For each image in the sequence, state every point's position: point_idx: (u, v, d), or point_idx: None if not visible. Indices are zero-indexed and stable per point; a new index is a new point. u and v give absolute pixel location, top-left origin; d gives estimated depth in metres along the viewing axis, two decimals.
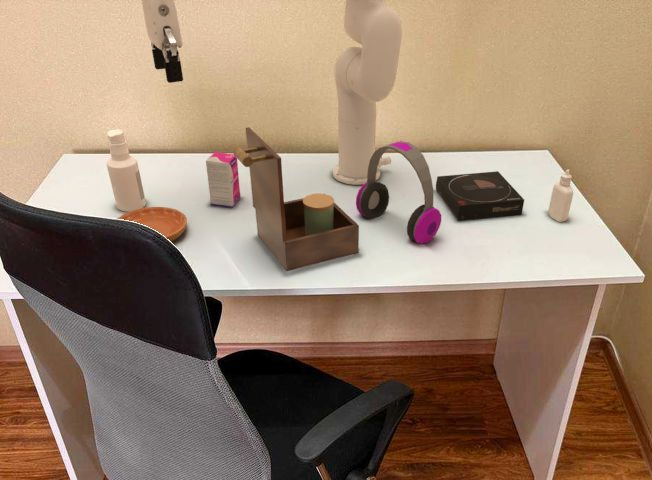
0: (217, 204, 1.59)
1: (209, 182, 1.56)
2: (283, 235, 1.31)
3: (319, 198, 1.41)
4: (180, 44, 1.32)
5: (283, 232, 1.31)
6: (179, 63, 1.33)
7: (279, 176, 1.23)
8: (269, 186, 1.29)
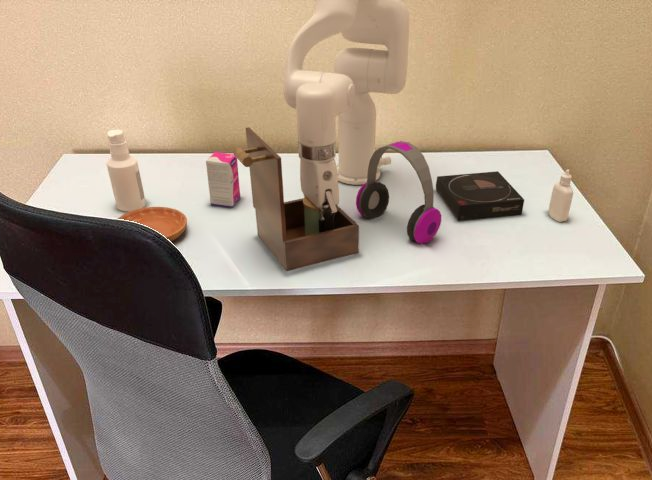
0: (217, 204, 1.59)
1: (209, 182, 1.56)
2: (283, 235, 1.31)
3: None
4: (337, 202, 1.37)
5: (283, 232, 1.31)
6: (332, 220, 1.40)
7: (279, 176, 1.23)
8: (269, 186, 1.29)
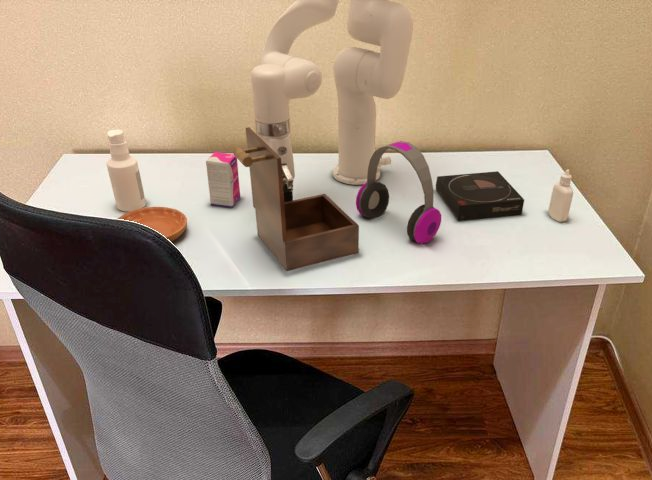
0: (217, 204, 1.59)
1: (209, 182, 1.56)
2: (283, 235, 1.31)
3: None
4: (293, 177, 1.48)
5: (283, 232, 1.31)
6: (291, 192, 1.49)
7: (279, 176, 1.23)
8: (269, 186, 1.29)
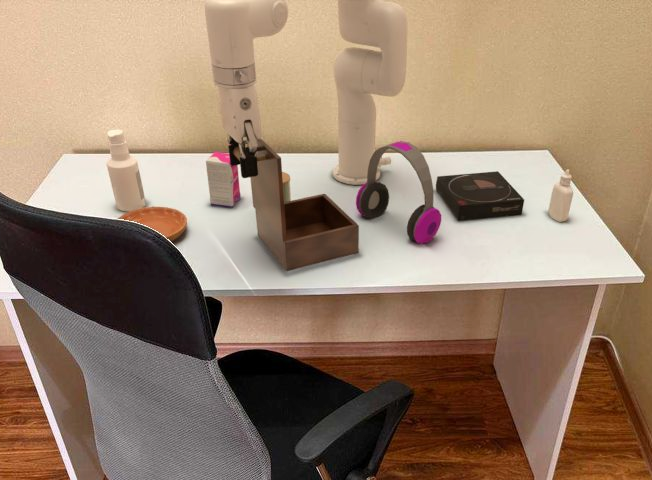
0: (217, 204, 1.59)
1: (209, 182, 1.56)
2: (283, 235, 1.31)
3: None
4: (260, 137, 1.21)
5: (283, 232, 1.31)
6: (255, 158, 1.24)
7: (279, 176, 1.23)
8: (269, 186, 1.29)
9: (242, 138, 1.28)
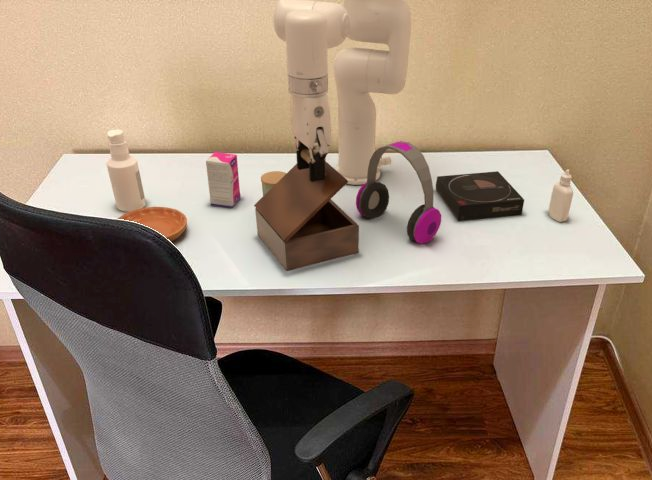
0: (217, 204, 1.59)
1: (209, 182, 1.56)
2: (289, 236, 1.32)
3: (276, 175, 1.52)
4: (330, 143, 1.28)
5: (291, 233, 1.32)
6: (323, 163, 1.32)
7: (334, 192, 1.31)
8: (307, 195, 1.35)
9: None
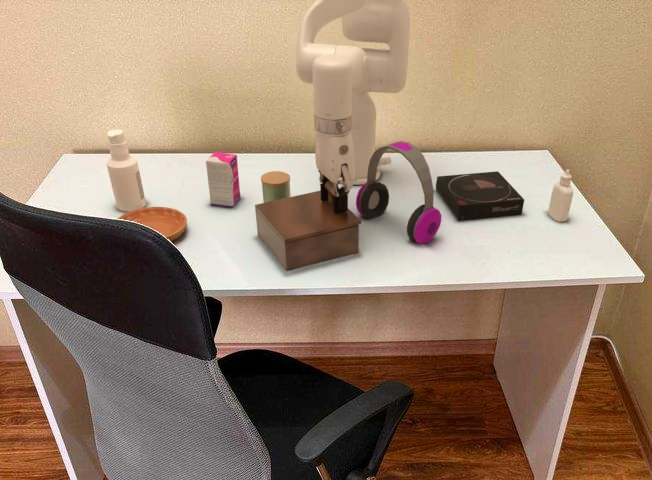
0: (217, 204, 1.59)
1: (209, 182, 1.56)
2: (290, 238, 1.32)
3: (276, 175, 1.52)
4: (353, 178, 1.36)
5: (294, 238, 1.33)
6: (346, 196, 1.39)
7: (346, 225, 1.37)
8: (317, 217, 1.39)
9: None
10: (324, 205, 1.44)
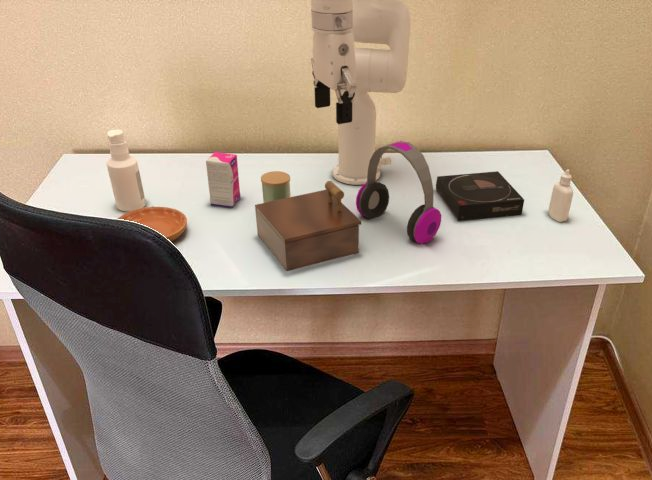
0: (217, 204, 1.59)
1: (209, 182, 1.56)
2: (290, 239, 1.32)
3: (276, 175, 1.52)
4: None
5: (294, 238, 1.33)
6: (351, 104, 1.25)
7: (346, 225, 1.37)
8: (317, 218, 1.39)
9: None
10: (324, 205, 1.44)
